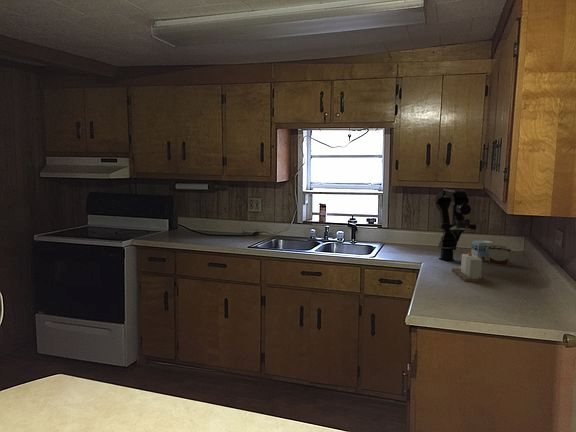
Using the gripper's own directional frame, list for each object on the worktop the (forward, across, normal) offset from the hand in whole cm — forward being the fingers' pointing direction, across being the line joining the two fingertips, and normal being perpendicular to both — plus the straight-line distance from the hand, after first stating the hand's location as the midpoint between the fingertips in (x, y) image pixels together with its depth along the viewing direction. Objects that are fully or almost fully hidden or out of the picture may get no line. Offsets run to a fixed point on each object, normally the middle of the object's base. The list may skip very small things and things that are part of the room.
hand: (456, 241), depth 266 cm
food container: (+13, +26, +7) cm, 30 cm away
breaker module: (+13, -1, -24) cm, 27 cm away
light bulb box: (+13, +20, +18) cm, 30 cm away
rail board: (+14, -1, -23) cm, 27 cm away
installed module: (+13, -1, -31) cm, 34 cm away
